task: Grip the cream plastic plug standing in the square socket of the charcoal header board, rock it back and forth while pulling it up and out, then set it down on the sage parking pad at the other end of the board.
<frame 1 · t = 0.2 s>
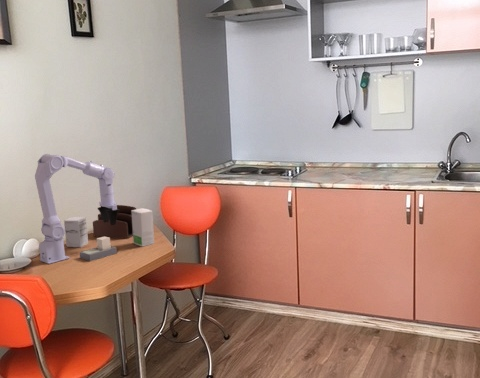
hand: (109, 223, 243), 10 cm above the table, fingers open, 7 cm apart
letter holder: (116, 235, 262), on the table
header: (98, 255, 229), on the table
supplement box: (77, 245, 247), on the table
plug: (104, 253, 231), resting in header
skincare box: (144, 244, 244), on the table
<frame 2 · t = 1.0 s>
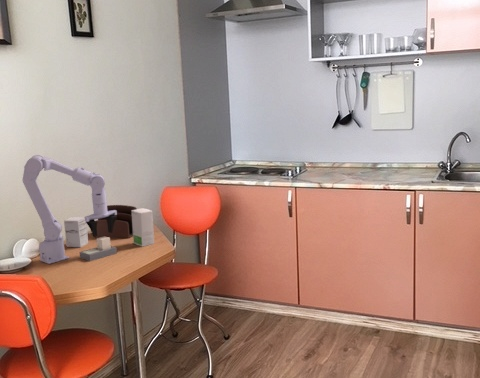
hand: (102, 234, 230), 8 cm above the table, fingers open, 7 cm apart
nothing on the table moved.
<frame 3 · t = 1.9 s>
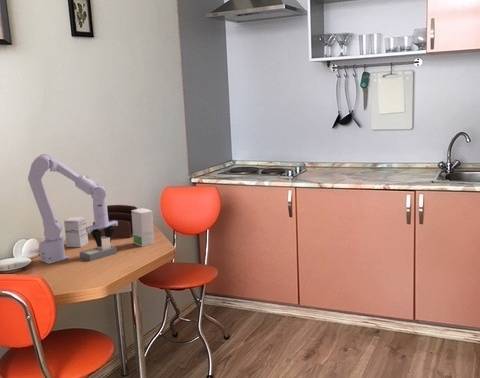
hand: (103, 245, 231), 4 cm above the table, fingers closed on plug, 4 cm apart
plug: (104, 253, 231), resting in header, touching gripper
everything else where it was.
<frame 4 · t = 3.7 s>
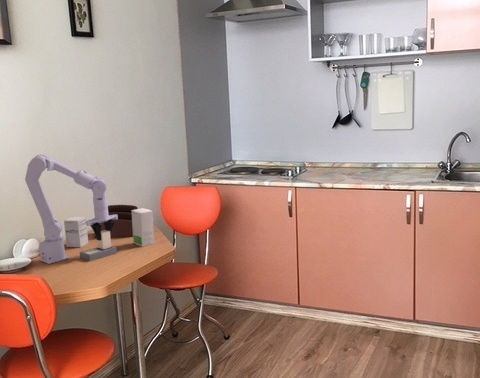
hand: (103, 238, 230), 7 cm above the table, fingers closed on plug, 4 cm apart
plug: (104, 247, 231), point 3 cm above the table, touching gripper
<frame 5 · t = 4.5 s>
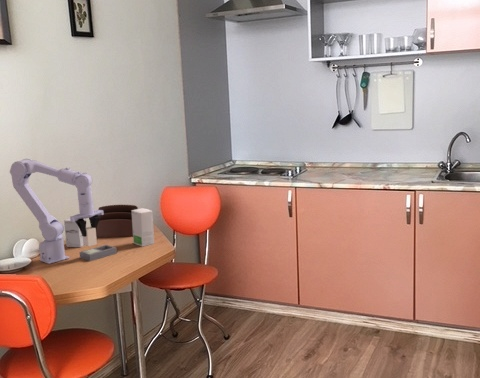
hand: (89, 234, 225), 10 cm above the table, fingers closed on plug, 4 cm apart
plug: (90, 244, 226), point 6 cm above the table, touching gripper
when the fingers open (8 cm above the table, at t = 5.3 s): plug stays where it is, resting on header.
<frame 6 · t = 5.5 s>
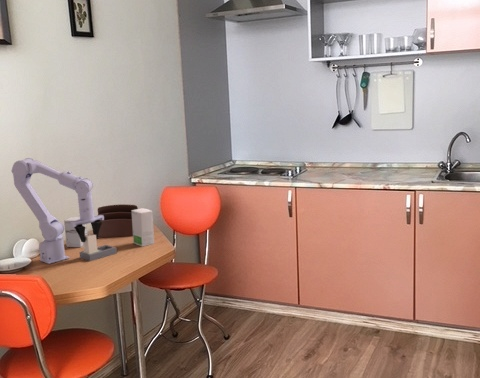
hand: (89, 240, 225), 8 cm above the table, fingers open, 5 cm apart
plug: (90, 251, 226), point 3 cm above the table, touching header
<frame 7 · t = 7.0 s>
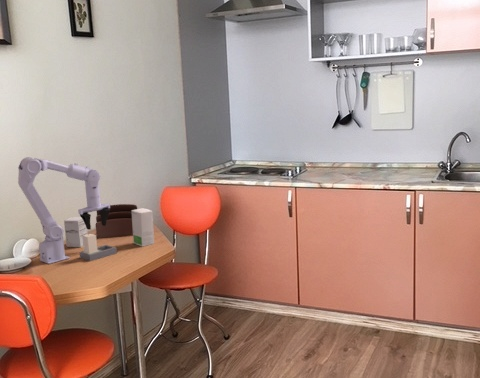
hand: (96, 227, 235), 10 cm above the table, fingers open, 7 cm apart
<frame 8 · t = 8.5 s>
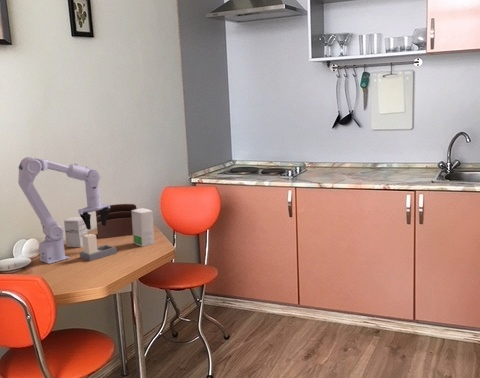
hand: (96, 227, 235), 10 cm above the table, fingers open, 7 cm apart
at the end: plug 0.1 cm from the target spot on the header, point 2.7 cm above the header's base; plug tilted 0°; the gripper is holding nothing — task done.
